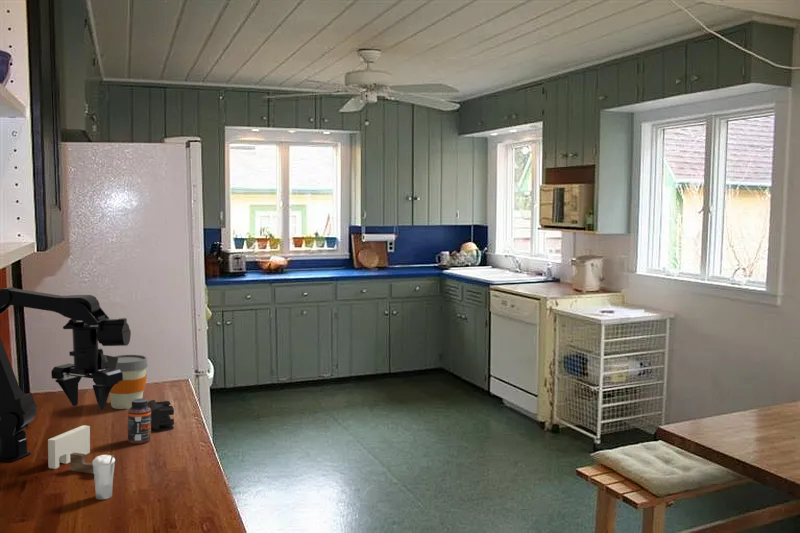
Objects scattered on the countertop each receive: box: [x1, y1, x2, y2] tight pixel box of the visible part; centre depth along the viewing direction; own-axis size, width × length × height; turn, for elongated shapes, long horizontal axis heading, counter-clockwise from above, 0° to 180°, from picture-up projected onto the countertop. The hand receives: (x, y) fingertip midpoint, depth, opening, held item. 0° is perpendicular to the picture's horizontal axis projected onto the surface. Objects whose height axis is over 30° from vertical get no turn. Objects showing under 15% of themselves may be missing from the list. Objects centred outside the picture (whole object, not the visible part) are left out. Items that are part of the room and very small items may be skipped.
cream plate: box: [47, 424, 91, 470], centre depth 175 cm, size 12×2×7 cm, turn 164°
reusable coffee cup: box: [104, 354, 148, 410], centre depth 224 cm, size 13×13×15 cm
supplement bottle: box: [127, 397, 152, 445], centre depth 191 cm, size 6×6×11 cm
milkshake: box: [91, 454, 116, 501], centre depth 154 cm, size 4×5×10 cm
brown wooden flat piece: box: [69, 453, 99, 475], centre depth 168 cm, size 10×1×4 cm, turn 74°
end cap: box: [147, 399, 175, 432], centre depth 204 cm, size 10×7×7 cm
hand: (88, 407), depth 177 cm, fingers open, 9 cm apart
